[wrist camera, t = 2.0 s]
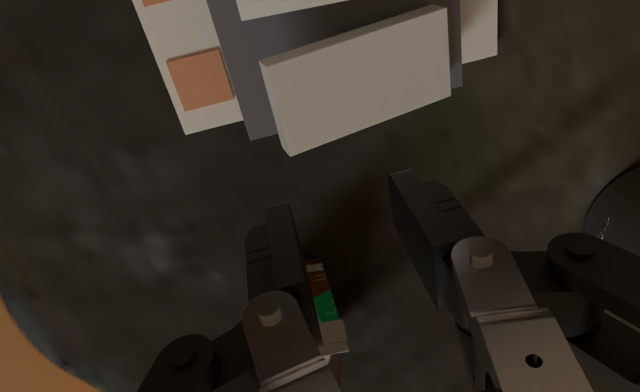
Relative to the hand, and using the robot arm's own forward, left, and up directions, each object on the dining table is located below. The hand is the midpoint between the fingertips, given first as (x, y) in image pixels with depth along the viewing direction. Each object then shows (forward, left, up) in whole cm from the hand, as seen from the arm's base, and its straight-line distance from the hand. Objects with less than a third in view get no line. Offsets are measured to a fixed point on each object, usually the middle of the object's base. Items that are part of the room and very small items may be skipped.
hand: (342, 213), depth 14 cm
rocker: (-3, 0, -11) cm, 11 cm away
